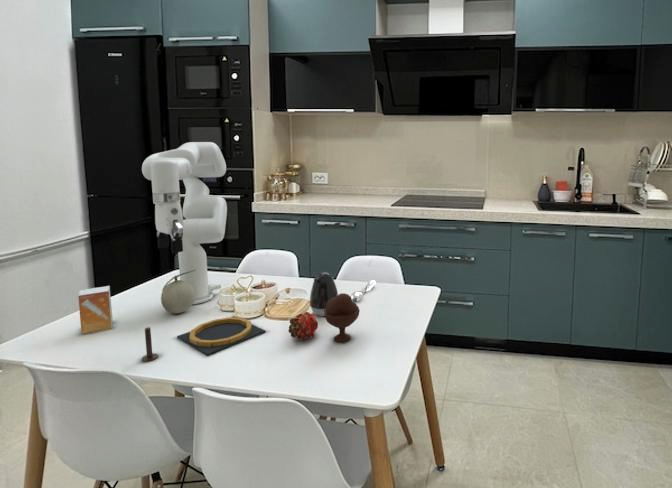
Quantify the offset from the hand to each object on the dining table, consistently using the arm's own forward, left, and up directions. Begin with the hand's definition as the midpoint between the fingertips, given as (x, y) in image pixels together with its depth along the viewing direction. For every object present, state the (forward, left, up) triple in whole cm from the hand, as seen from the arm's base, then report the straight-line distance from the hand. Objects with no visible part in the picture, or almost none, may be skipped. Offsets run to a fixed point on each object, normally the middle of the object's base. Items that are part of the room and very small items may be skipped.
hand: (170, 249), depth 141 cm
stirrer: (-60, +28, -26) cm, 71 cm away
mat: (-6, +18, -26) cm, 32 cm away
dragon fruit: (-21, +40, -26) cm, 52 cm away
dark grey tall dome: (-37, +31, -26) cm, 55 cm away
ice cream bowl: (-27, +51, -26) cm, 64 cm away
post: (+14, +16, -26) cm, 34 cm away
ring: (-6, +18, -26) cm, 32 cm away
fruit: (-6, -12, -26) cm, 30 cm away
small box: (+16, -20, -26) cm, 37 cm away
